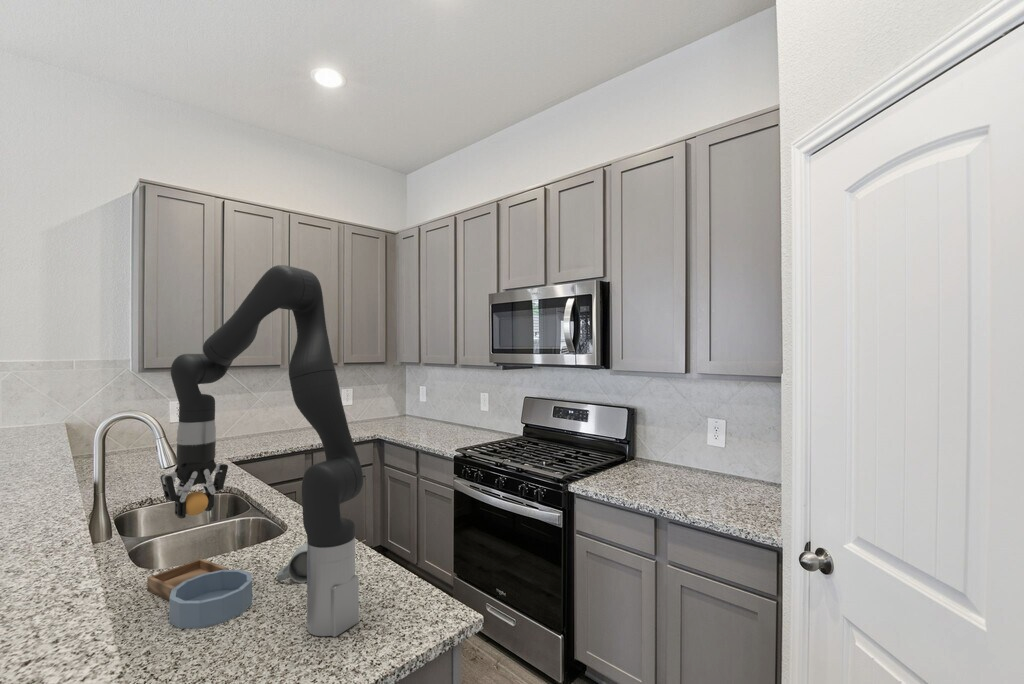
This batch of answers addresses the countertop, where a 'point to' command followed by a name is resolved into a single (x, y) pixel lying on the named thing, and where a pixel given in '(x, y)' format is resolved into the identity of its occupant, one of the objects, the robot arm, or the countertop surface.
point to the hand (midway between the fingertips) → (194, 513)
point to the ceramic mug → (296, 566)
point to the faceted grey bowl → (210, 598)
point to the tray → (179, 576)
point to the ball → (196, 503)
